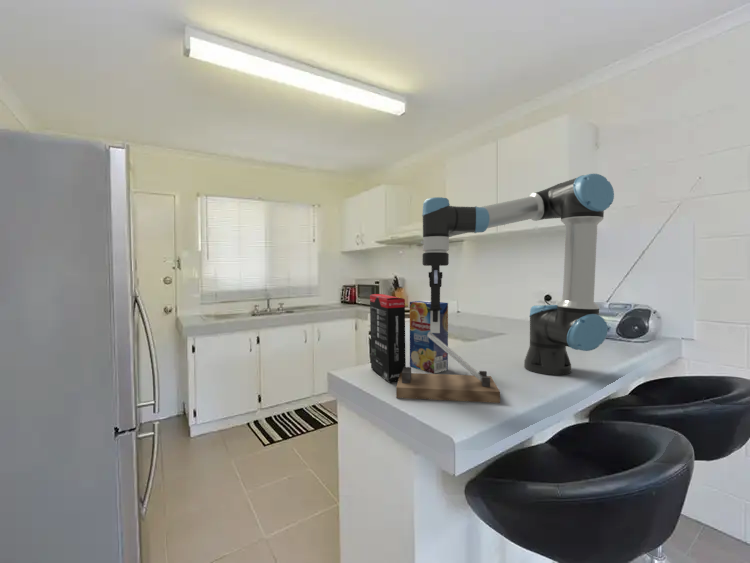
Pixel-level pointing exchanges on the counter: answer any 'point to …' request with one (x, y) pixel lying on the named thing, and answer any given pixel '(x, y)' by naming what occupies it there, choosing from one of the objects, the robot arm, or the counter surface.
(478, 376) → the latch bar
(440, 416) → the counter surface
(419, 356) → the juice carton
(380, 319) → the graphics card box
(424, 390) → the plate
